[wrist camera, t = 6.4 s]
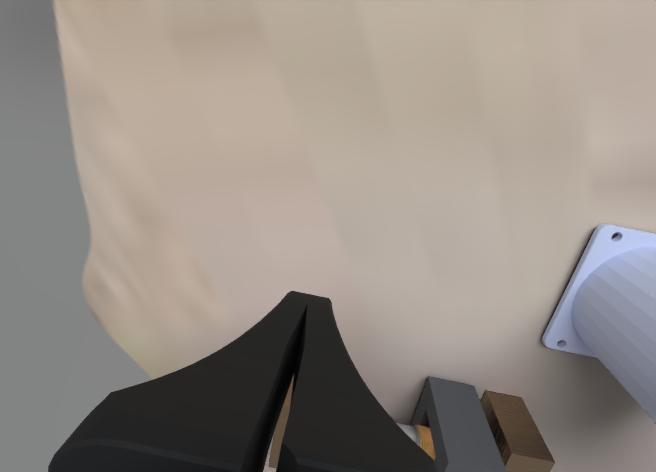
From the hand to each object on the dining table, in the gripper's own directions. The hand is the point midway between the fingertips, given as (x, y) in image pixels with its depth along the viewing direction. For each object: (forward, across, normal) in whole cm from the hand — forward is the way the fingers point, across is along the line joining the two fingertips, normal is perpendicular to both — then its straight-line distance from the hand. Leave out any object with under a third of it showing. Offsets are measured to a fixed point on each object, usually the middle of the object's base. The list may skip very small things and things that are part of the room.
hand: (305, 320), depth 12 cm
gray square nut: (+10, -10, +12) cm, 18 cm away
